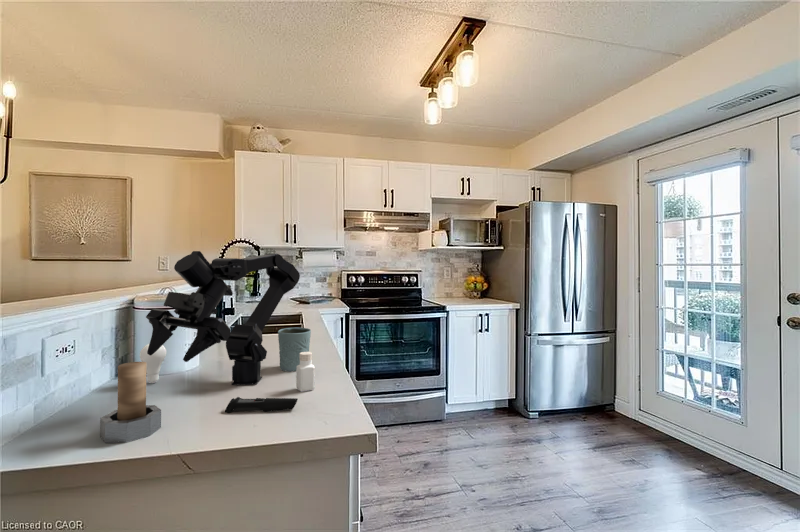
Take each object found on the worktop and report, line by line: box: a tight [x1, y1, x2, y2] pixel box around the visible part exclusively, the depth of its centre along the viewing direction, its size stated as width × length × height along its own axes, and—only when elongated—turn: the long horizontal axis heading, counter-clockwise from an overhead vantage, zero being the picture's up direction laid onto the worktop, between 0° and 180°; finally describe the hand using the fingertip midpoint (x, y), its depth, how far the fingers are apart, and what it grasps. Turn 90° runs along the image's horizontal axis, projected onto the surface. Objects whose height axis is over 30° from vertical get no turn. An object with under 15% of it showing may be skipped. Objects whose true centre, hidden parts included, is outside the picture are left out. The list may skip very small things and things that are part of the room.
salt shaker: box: [295, 351, 316, 393], centre depth 99 cm, size 4×4×10 cm
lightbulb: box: [139, 342, 167, 384], centre depth 103 cm, size 6×6×11 cm
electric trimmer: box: [224, 396, 298, 414], centre depth 85 cm, size 4×16×3 cm, turn 92°
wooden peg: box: [116, 361, 147, 421], centre depth 73 cm, size 4×4×13 cm
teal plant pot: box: [277, 327, 312, 372], centre depth 120 cm, size 10×10×12 cm
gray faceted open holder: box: [99, 404, 162, 444], centre depth 73 cm, size 9×9×4 cm
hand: (166, 357), depth 81 cm, fingers open, 9 cm apart
